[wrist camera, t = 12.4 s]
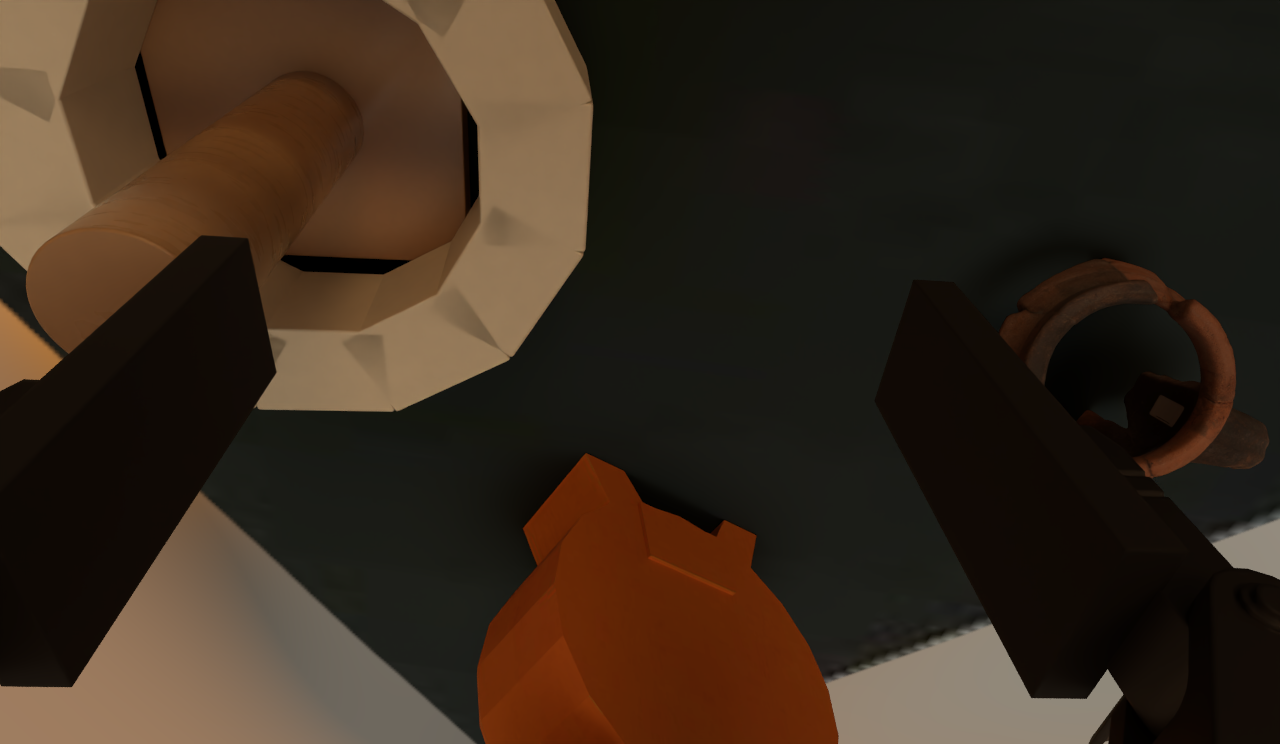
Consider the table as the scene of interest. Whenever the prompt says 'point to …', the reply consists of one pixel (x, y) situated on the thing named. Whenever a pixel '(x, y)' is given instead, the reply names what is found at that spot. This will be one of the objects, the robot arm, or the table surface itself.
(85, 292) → the stand
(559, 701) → the alarm clock
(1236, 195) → the table surface
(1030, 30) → the table surface
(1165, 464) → the pottery mug
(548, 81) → the ring
